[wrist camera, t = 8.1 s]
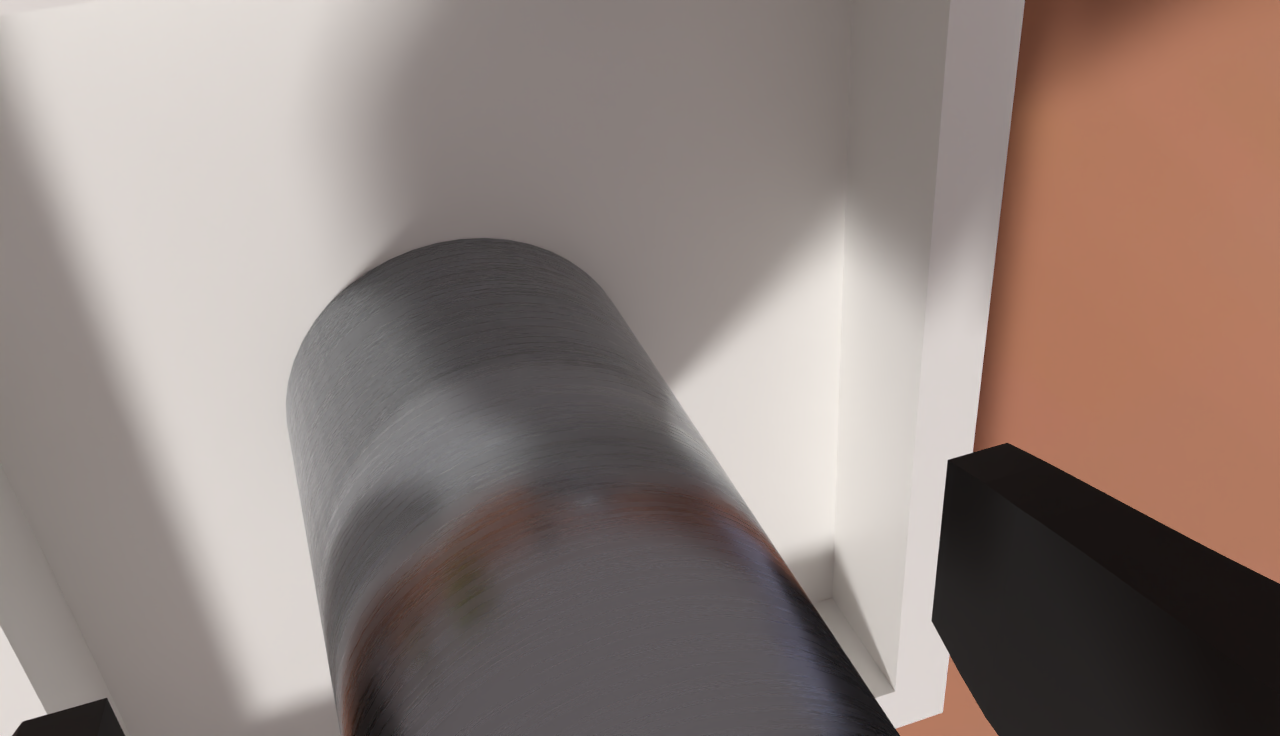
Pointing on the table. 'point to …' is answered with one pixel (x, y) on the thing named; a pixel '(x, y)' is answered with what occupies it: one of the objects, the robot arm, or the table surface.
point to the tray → (464, 209)
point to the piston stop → (536, 522)
